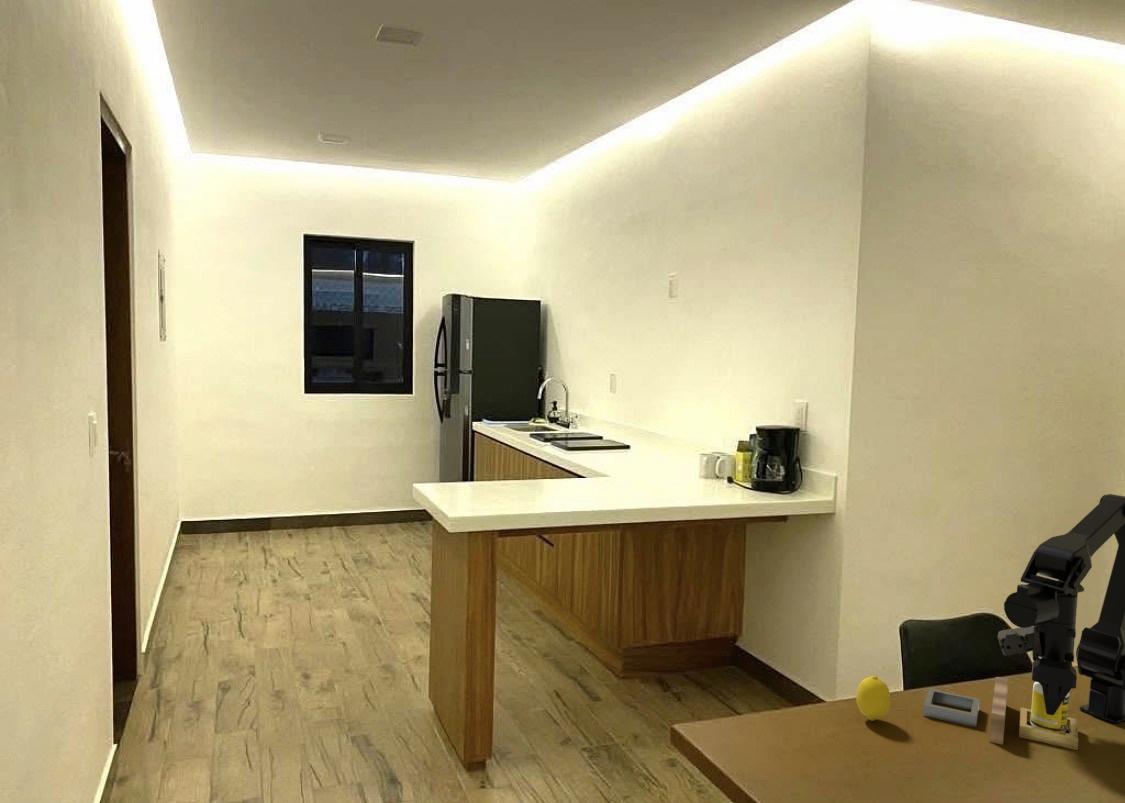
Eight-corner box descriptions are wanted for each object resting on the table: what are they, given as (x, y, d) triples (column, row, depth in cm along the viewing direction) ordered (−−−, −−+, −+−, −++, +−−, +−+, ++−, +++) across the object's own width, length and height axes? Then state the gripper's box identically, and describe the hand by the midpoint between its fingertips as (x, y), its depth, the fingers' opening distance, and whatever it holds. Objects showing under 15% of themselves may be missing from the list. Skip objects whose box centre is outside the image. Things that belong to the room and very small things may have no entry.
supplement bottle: (1066, 738, 142) (1070, 681, 141) (1029, 730, 144) (1033, 674, 144) (1067, 726, 146) (1071, 671, 145) (1031, 718, 149) (1034, 663, 148)
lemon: (891, 729, 145) (894, 683, 144) (857, 725, 146) (860, 680, 146) (885, 715, 150) (888, 671, 150) (853, 712, 152) (855, 668, 151)
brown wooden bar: (994, 703, 157) (995, 676, 157) (1006, 705, 156) (1008, 679, 156) (989, 741, 142) (991, 712, 141) (1002, 744, 141) (1004, 715, 140)
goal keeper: (1019, 718, 151) (1020, 707, 151) (1075, 730, 147) (1076, 718, 147) (1018, 737, 144) (1019, 725, 143) (1077, 750, 139) (1078, 738, 139)
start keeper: (928, 698, 158) (929, 688, 158) (979, 709, 154) (979, 698, 154) (923, 715, 151) (923, 704, 151) (976, 727, 147) (976, 716, 147)
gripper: (1004, 596, 156) (998, 679, 157) (1000, 625, 140) (994, 717, 141) (1075, 607, 150) (1068, 693, 152) (1079, 638, 134) (1072, 734, 135)
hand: (1049, 708), depth 145 cm, fingers closed on supplement bottle, 5 cm apart
